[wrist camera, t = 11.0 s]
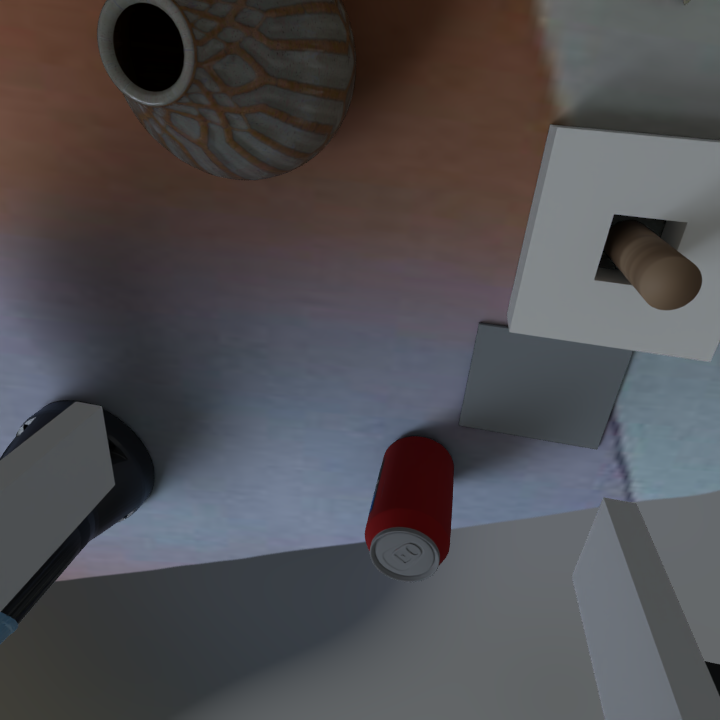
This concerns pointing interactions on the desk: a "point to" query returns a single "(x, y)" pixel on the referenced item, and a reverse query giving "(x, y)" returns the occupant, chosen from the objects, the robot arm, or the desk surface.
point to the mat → (541, 386)
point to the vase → (233, 78)
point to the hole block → (590, 230)
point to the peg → (652, 266)
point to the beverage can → (411, 510)
